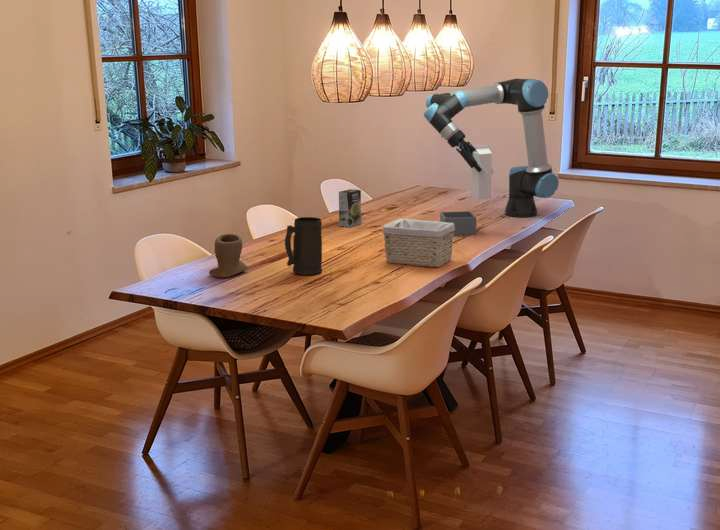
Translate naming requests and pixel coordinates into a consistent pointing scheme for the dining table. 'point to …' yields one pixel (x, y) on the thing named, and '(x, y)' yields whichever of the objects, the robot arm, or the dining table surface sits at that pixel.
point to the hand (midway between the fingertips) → (489, 175)
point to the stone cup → (228, 256)
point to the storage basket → (418, 242)
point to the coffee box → (349, 208)
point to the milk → (479, 184)
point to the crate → (460, 222)
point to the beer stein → (305, 245)
